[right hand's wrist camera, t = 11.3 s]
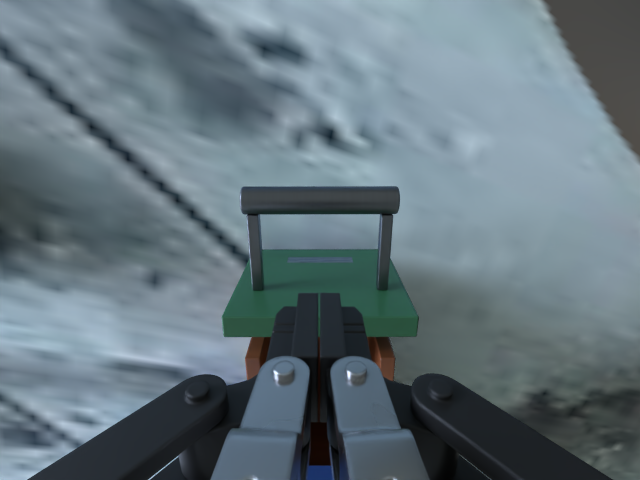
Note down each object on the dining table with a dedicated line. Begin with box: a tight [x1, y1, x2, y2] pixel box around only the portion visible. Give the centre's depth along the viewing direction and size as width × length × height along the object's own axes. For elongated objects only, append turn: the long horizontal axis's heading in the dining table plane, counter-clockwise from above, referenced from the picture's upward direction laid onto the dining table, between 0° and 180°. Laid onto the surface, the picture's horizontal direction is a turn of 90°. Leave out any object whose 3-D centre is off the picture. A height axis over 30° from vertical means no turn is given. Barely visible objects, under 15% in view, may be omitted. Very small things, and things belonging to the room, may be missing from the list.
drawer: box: [222, 186, 419, 466], centre depth 23 cm, size 22×10×9 cm, turn 0°
